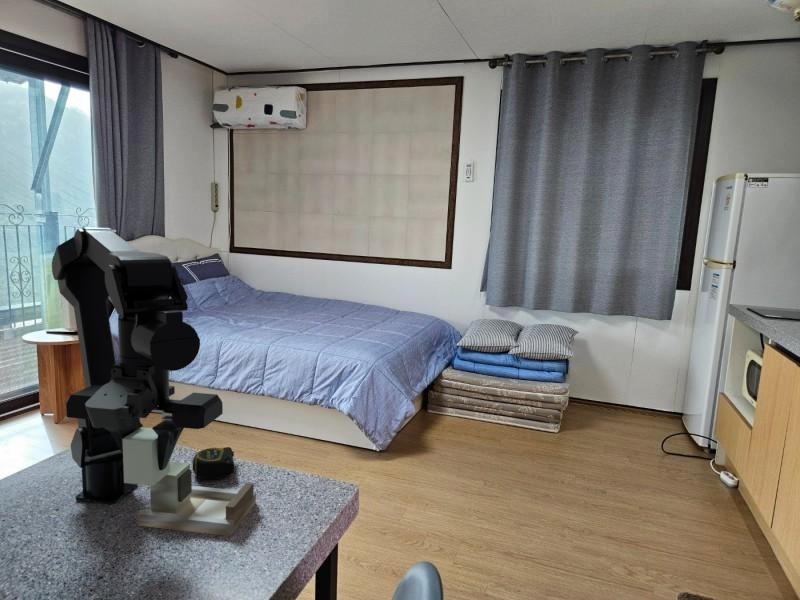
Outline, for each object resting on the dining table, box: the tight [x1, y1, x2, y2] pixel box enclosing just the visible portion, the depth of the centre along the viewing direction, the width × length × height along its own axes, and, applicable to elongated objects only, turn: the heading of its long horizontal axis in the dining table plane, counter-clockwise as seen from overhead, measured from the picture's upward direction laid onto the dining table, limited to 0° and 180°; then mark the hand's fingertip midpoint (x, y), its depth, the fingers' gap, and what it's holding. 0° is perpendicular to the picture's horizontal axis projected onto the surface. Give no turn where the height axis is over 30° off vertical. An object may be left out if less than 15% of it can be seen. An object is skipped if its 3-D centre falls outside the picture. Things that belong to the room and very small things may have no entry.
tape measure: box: [192, 446, 235, 480], centre depth 92 cm, size 7×7×4 cm
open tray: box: [136, 461, 257, 537], centre depth 79 cm, size 14×9×7 cm, turn 83°
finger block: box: [123, 426, 171, 487], centre depth 70 cm, size 4×4×6 cm
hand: (147, 467), depth 70 cm, fingers closed on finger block, 4 cm apart
